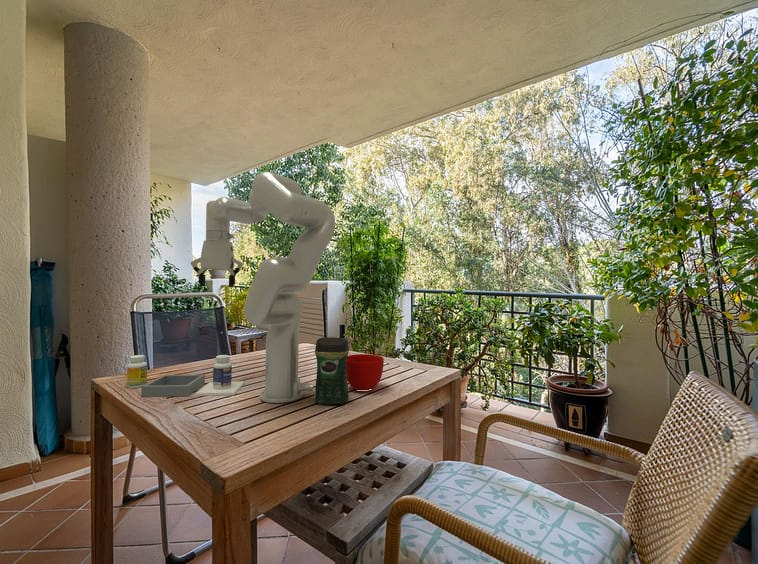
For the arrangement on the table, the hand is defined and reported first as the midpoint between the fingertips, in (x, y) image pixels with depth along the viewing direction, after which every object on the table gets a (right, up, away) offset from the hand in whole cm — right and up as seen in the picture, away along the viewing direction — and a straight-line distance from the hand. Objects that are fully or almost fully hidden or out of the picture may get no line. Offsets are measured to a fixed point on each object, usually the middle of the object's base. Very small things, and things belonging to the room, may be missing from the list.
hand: (216, 286), depth 125 cm
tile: (+7, -32, -11) cm, 35 cm away
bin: (-7, -32, -13) cm, 35 cm away
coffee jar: (+43, -33, -21) cm, 58 cm away
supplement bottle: (-22, -32, -9) cm, 40 cm away
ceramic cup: (+51, -33, -6) cm, 61 cm away
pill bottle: (+7, -32, -11) cm, 35 cm away
